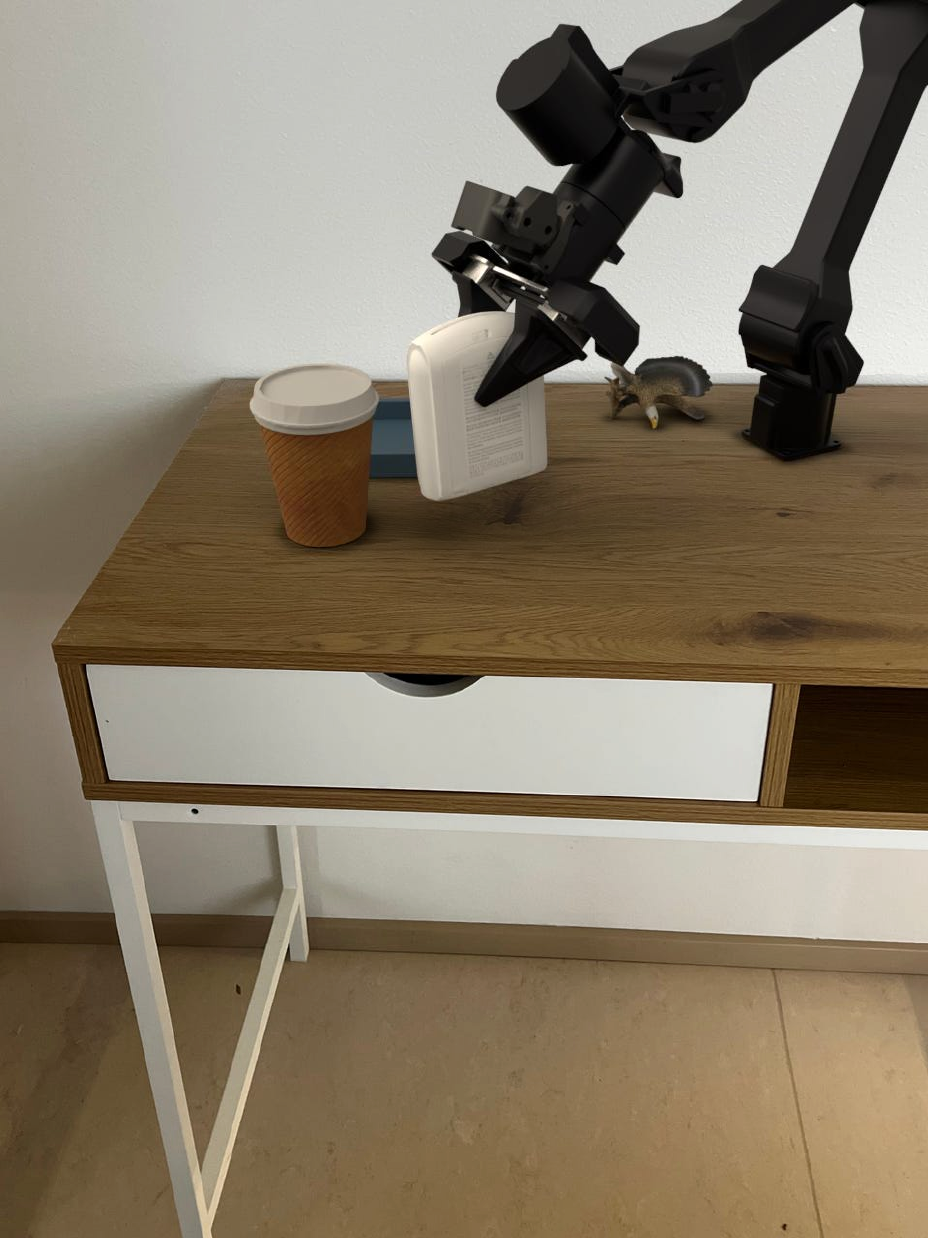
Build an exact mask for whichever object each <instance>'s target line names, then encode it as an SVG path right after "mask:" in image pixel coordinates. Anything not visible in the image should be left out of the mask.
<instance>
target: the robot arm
mask: <svg viewBox="0 0 928 1238" xmlns="http://www.w3.org/2000/svg"><path fill="white" fill-rule="evenodd" d="M852 5H856V6H857V7H859V8H861V9H862V10H863V12H862V17H861V20H860V24H859V28H858V30H859V31H858V32H859V33H858V34H859V42H860V51H861V59H862V60H861V61H862V70H861V74H860V77H859V79H858V82H857V84H856V86H855V89H854V92H853V94H852V97H851V99H850V102H849V104H848V107H847V109H846V112H845V114H844V117H843V119H842V122H841V124H840V127H839V129H838V132H837V134H836V136H835V140H834V142H833V144H832V147H831V149H830V152H829V155H828V157H827V160H826V162H825V165H824V167H823V169H822V172H821V174H820V177H819V179H818V182H817V185H816V188H815V190H814V192H813V194H812V197H811V198H810V199H811V200H810V202H809V205H808V208H807V209H806V212H805V214H804V217H803V220H802V221H801V225H800V227H799V230H798V232H797V235H796V237H795V240H794V241H793V245H792V247H791V249H790V251H789V252H788V253H787V254H786V255H784V256H783V257H782V258H781V259H780V260H779V261H778V262H777V263H775V265H773V266H772V267H771V266H768V265H765V264H760V265H759V266H758V267H757V268H756V270H755V271H754V273H753V275H752V276H753V277H752V279H751V283H750V286H749V290H748V292H747V295H746V296H745V299H744V300H743V302H742V303H741V304H740V306H739V308H738V312H739V313H741V316H740V319H739V323H738V331H737V332H738V335H739V337H740V339H741V344H742V347H743V349H744V356H745V361H746V366H747V368H749V369H751V370H757V371H759V372H761V373H763V374H762V375H760V377H759V383H758V391H757V393H755V395H754V398H753V405H752V412H751V413H752V414H751V420H750V427H748V428H747V427H746V428H743V429H742V430H741V433H740V436H742V437H743V438H745V439H746V440H748V441H750V442H751V443H753V444H755V445H756V446H758V447H760V448H762V449H763V450H765V451H766V452H768V453H770V454H772V455H774V456H775V457H777V458H779V459H780V460H783V461H790V460H795V459H798V458H803V457H807V456H811V455H816V454H821V453H825V452H828V451H832V450H837V449H840V448H842V444H843V442H842V441H841V440H840V439H838V438H836V437H834V436H832V435H831V433H832V428H833V420H834V416H835V410H836V403H837V397H838V395H842V394H845V393H846V390H847V388H852V387H855V386H856V384H857V382H858V380H859V378H860V375H861V372H862V370H863V367H864V365H865V361H864V359H863V358H862V356H861V355H860V354H859V352H858V350H857V349H856V347H855V346H854V344H852V342H851V341H850V339H849V337H848V336H847V335H846V333H847V330H848V326H849V324H850V320H851V318H852V314H853V310H854V305H853V296H852V286H851V278H850V270H851V267H852V263H853V262H854V259H855V257H856V254H857V252H858V249H859V247H860V245H861V242H862V240H863V237H864V235H865V232H866V230H867V228H868V225H869V223H870V221H871V219H872V216H873V213H874V211H875V209H876V207H877V204H878V203H879V200H880V197H881V194H882V192H883V189H884V188H885V185H886V183H887V180H888V178H889V175H890V173H891V171H892V168H893V166H894V163H895V161H896V158H897V156H898V154H899V151H900V150H901V149H900V148H901V147H902V144H903V142H904V140H905V137H906V135H907V133H908V130H909V127H910V126H911V122H912V120H913V118H914V115H915V113H916V111H917V108H918V106H919V104H920V101H921V99H922V96H923V94H924V92H925V90H926V89H927V87H928V0H740V1H739V2H737V3H736V4H735V5H733V6H732V7H730V8H729V9H728V10H727V11H725V12H724V13H722V14H721V15H719V16H717V17H715V18H713V19H711V20H709V21H706V22H703V23H700V24H696V25H692V26H689V27H685V28H680V29H677V30H674V31H670V32H669V33H667V34H665V35H662V36H660V37H658V38H656V39H653V40H651V41H649V42H647V43H645V44H643V45H640V46H639V47H636V49H635V50H633V52H631V54H630V55H628V57H627V58H626V60H625V61H624V63H623V64H621V65H618V66H615V67H612V68H608V67H607V65H606V63H604V61H603V60H602V59H601V58H600V56H599V54H597V52H596V50H595V49H594V47H593V44H592V42H591V39H590V38H589V36H588V35H587V33H586V32H585V31H584V30H583V28H582V26H580V25H576V24H567V23H559V24H558V25H557V26H556V28H555V30H554V31H553V33H552V34H551V35H550V36H549V37H547V38H544V39H542V40H539V41H538V42H536V43H535V44H533V45H531V46H530V47H529V48H528V49H526V50H525V51H524V52H523V53H521V54H520V55H519V57H518V58H514V59H512V60H511V61H510V62H509V64H508V65H507V66H506V68H505V70H504V71H503V73H502V75H501V76H500V79H499V81H498V83H497V86H496V91H495V101H496V104H497V105H498V107H499V108H500V109H501V110H502V112H503V113H504V114H505V115H506V116H507V117H508V119H509V120H510V121H511V122H512V123H513V125H515V127H517V129H518V130H519V131H520V132H521V133H522V134H523V136H524V137H525V138H526V139H527V140H528V141H529V142H530V144H531V145H532V146H533V147H534V148H535V149H536V151H537V152H538V153H539V154H540V155H541V156H542V158H543V159H544V160H545V162H547V163H548V164H549V165H551V166H553V167H566V166H569V165H571V166H570V167H569V169H568V170H567V172H566V173H565V175H563V178H562V179H561V180H560V181H559V183H558V184H557V186H556V188H555V189H554V190H553V192H549V191H546V190H542V189H539V188H536V187H533V186H530V185H525V186H523V188H522V189H521V190H520V191H519V192H518V194H517V195H515V196H514V195H511V194H508V193H506V192H502V191H500V190H497V189H495V188H491V187H488V186H485V185H483V184H479V183H476V182H473V181H470V180H465V182H464V185H463V189H462V192H461V194H460V197H459V201H458V203H457V206H456V209H455V213H454V215H453V218H452V221H451V224H450V227H451V229H452V228H453V229H455V230H456V231H452V232H446V233H444V235H443V236H442V237H441V239H440V240H439V242H438V243H437V245H436V247H434V249H433V250H432V252H431V254H430V255H431V257H432V258H433V260H435V261H436V262H437V263H438V264H439V265H440V266H441V267H442V268H443V269H445V271H446V272H447V273H449V274H450V275H451V280H452V281H453V282H454V283H455V284H456V287H457V292H458V298H459V309H458V314H457V318H459V317H462V316H465V315H469V314H475V313H481V312H494V311H501V312H507V310H508V309H509V308H510V306H511V304H513V302H514V301H515V302H514V303H515V304H514V313H515V319H514V329H513V332H512V334H511V335H510V337H509V339H508V340H507V342H506V343H505V345H504V347H503V348H502V350H501V351H500V353H499V355H498V356H497V358H496V360H495V361H494V363H493V364H492V366H491V368H490V369H489V371H488V372H487V374H486V376H485V377H484V379H483V381H482V383H481V385H480V387H479V389H478V390H477V392H476V394H475V396H474V400H475V401H476V402H477V403H478V404H479V405H480V406H482V407H487V406H489V405H491V404H493V403H494V402H496V401H498V400H500V399H502V398H503V397H505V396H507V395H509V394H510V393H512V392H514V391H516V390H517V389H519V388H521V387H523V386H525V385H526V384H528V383H529V382H532V381H534V380H535V379H537V378H539V377H541V376H543V375H544V376H545V375H547V374H549V373H551V372H553V371H556V370H558V369H560V368H562V367H564V366H566V365H569V364H570V363H573V362H575V361H580V362H585V360H587V358H588V356H589V355H588V354H587V353H586V352H585V351H584V348H585V347H586V345H588V342H589V341H590V340H591V338H592V339H593V340H594V353H596V355H598V357H600V358H602V359H604V360H607V361H608V362H610V363H612V362H613V363H615V364H617V365H619V366H621V367H623V366H624V367H625V365H626V363H627V362H628V360H629V359H630V358H631V356H632V355H633V353H634V352H635V351H636V350H637V347H638V346H639V345H640V332H641V325H640V324H639V323H638V322H637V321H636V319H635V318H634V317H632V315H631V314H630V313H629V312H628V311H627V310H626V308H625V307H623V306H622V304H621V303H620V302H619V301H618V300H617V299H616V298H615V297H614V296H613V295H612V293H610V291H609V290H607V288H606V287H604V286H602V285H599V284H598V283H597V284H596V283H594V282H591V281H592V280H593V278H594V277H595V276H596V274H597V272H598V271H599V270H600V268H601V267H602V266H603V264H604V263H605V262H607V263H609V264H612V265H614V266H618V265H619V264H620V262H621V261H622V259H623V258H624V256H625V255H626V252H625V251H624V250H623V249H622V248H621V246H619V244H618V243H619V242H620V240H621V239H622V238H623V236H624V235H625V233H626V232H627V230H628V229H629V227H631V224H633V222H634V220H635V219H636V218H637V216H638V215H639V214H640V212H641V210H643V208H644V207H645V205H646V203H647V202H648V201H649V199H650V198H651V196H652V195H653V193H656V194H659V195H663V196H667V197H670V198H674V199H680V198H682V197H683V196H684V180H683V176H682V172H681V165H682V158H681V156H679V155H675V154H670V153H666V152H662V150H661V148H659V146H658V145H657V144H656V142H655V141H654V140H653V138H652V137H651V136H650V135H654V136H659V137H663V138H666V139H668V138H669V139H671V140H677V141H681V142H685V143H690V144H691V143H692V144H698V143H703V142H704V141H707V140H709V139H710V138H712V137H713V136H714V135H716V133H718V132H719V130H720V129H722V127H723V126H725V125H726V123H727V122H728V121H729V120H730V119H731V118H732V117H733V116H734V115H735V114H736V113H737V112H738V111H739V110H740V109H741V108H742V107H743V106H744V104H745V103H746V101H747V99H748V97H749V93H750V91H751V89H752V86H753V83H754V81H755V80H756V79H757V78H758V77H759V76H760V75H761V74H762V73H763V72H764V71H765V70H766V69H768V68H769V67H770V66H771V65H773V64H774V63H776V62H777V61H779V60H780V59H781V58H783V56H785V55H786V54H788V53H789V52H790V51H792V50H793V49H795V48H796V47H797V46H798V45H800V44H801V43H802V42H804V41H805V40H806V39H808V38H810V37H811V36H812V35H814V33H816V32H817V31H819V30H820V29H821V28H824V26H826V25H827V24H828V23H830V22H831V21H832V20H834V19H835V18H836V17H837V16H840V14H842V13H843V12H844V11H846V10H847V9H849V8H850V7H851V6H852ZM466 230H467V231H469V232H471V234H469V233H467V232H464V231H466ZM488 242H489V243H491V245H490V244H489V243H488ZM505 260H506V261H505ZM522 287H523V288H522Z"/></svg>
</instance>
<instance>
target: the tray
mask: <svg viewBox="0 0 928 1238" xmlns="http://www.w3.org/2000/svg"><path fill="white" fill-rule="evenodd" d="M371 478H373V479H374V478H418V475H417V466H416V456H415V446H414V437H413V426H412V416H411V405H410V397H394V398H390V397H388V398H380V397H379V403H378V405H377V407H376V411H375V413H374V415H373V426H372V441H371V456H370V470H369V479H371Z"/></svg>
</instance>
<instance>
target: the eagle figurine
mask: <svg viewBox="0 0 928 1238" xmlns="http://www.w3.org/2000/svg"><path fill="white" fill-rule="evenodd" d="M703 367H704V365H703V364H699V363H698V362H697V361H694V359H692V358H689V357H684V356H683V355H674V356H665V357H664V356H661V357H649V358H646V359H644V361H642V362H641V363H640V364H639V365H638V366H637V367H636V368H635V369H634V372H633V373H632V372H631V371H629V370H628V369H627V368H626V367H625V365H624V366H623V367H621V366H619V365H617V364H615V363H613V362H610V368H611V372H612V374H613V375H614V376H615V378H613V379H612V378H610V377H608V376H604V379H605V380H606V381H607V382H608V383H609V384H610V386H609V387H610V391H608V390H607V391H606V392H605V395H606V396H607V397H608V399H609V401H610V405H611V410H610V414H609V417H610V419H614V418H616V417H617V415H619V414H620V413H621V412H622V411H623V409H625V408H626V407H628V406H631V405H633V404H638V406H639V407H640V409H641V410H642V411H643V412H644V413H645V415H646V416H647V417H648V419H649V421H650V422H651V425H652V429H657V427H658V423H659V413H658V410H657V407H656V404H664V405H667V406H670V407H672V408H673V409H676V410H679V411H681V412H682V413H684V414H685V415H687V416H688V417H691V418H693V419H695V420H696V421H697V420H703V419H704V418H705V414H704V413H703V412H701V411H700V410H699V409H697V408H695V407H693V406H691V404H690V403H688V401H687V400H686V399H685V398H684V397H689V398H702V397H704V396H706V392H710V390H711V388H712V387H713V382H712V381H711V380H710V379H711V374H709V373H708V371H707V369H705V368H703ZM620 383H621V384H622V385H624V386H620ZM621 398H622V399H621Z"/></svg>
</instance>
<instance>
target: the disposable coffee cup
mask: <svg viewBox="0 0 928 1238" xmlns="http://www.w3.org/2000/svg"><path fill="white" fill-rule="evenodd" d="M379 399H380V395H379V393H378V391H377V390H376V389H375V388H374V385H373V382H372V378H371V376H370V375H369V374H368V373H366V372H365V371H363V370H361V369H359V368H356V367H353V366H349V365H345V364H338V363H305V364H297V365H292V366H287V367H284V368H280V369H276V370H274V371H271V372H269V373H266V374H265V375H263V376H261V377H260V379H258V380H257V381H256V383H255V384H254V389H253V396H252V397H251V398H250V401H249V409H250V411H251V414H252V415H253V416H254V419H255V420H256V422H257V423H258V425H259V429H260V432H261V436H262V441H263V445H264V448H265V453H266V456H267V460H268V461H267V462H268V465H269V466H268V467H269V468H270V473H271V475H272V476H271V477H272V480H273V484H274V489H275V491H276V496H277V500H278V505H279V507H280V512H281V516H282V520H283V523H284V528H285V533H286V536H287V537H288V538H289V539H290V540H292V541H293V542H295V543H297V544H300V545H302V546H306V547H313V548H315V547H316V548H328V547H336V546H341V545H345V544H347V543H351V542H353V541H355V540H357V539H358V538H360V537H361V536H362V535H363V534H364V533H365V531H366V529H367V516H368V515H367V514H368V498H369V487H370V486H369V485H370V478H369V470H370V456H371V441H372V426H373V415H374V413H375V411H376V407H377V405H378V403H379Z"/></svg>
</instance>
